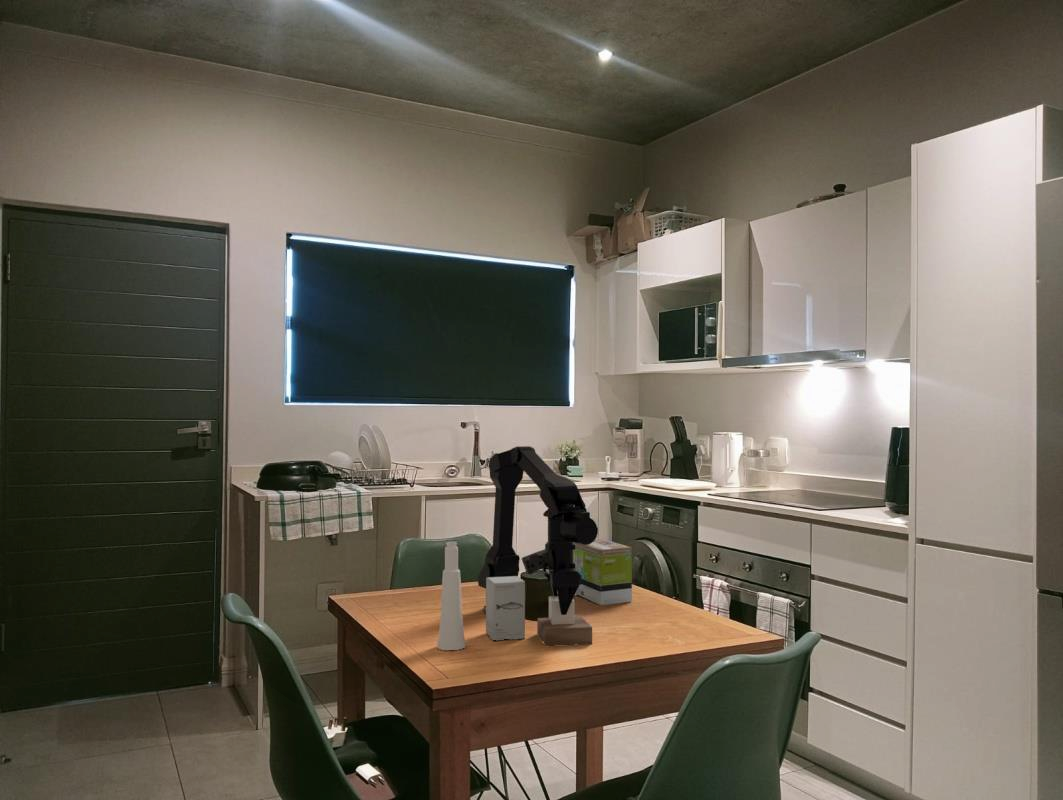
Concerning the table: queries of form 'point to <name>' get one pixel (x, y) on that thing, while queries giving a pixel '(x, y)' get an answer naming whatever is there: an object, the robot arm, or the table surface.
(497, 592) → the supplement box
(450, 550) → the cosmetic bottle
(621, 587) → the tea box
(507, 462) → the robot arm
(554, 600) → the ceramic cube
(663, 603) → the table surface
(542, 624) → the walnut block
